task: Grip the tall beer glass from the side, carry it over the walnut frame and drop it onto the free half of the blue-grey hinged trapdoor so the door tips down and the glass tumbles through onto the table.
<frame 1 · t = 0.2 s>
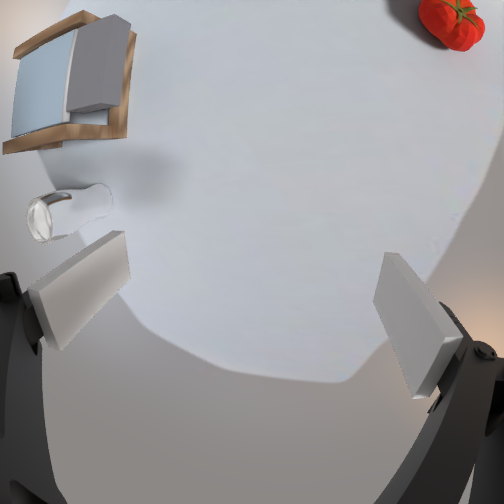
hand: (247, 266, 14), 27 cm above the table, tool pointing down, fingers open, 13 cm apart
tomato: (440, 29, 26), on the table
frame: (87, 92, 38), on the table
trapdoor: (56, 78, 26), point 12 cm above the table, hinge at 0.0°
beer glass: (100, 200, 44), on the table
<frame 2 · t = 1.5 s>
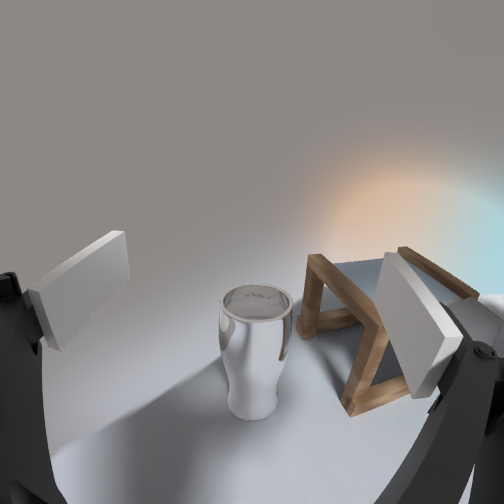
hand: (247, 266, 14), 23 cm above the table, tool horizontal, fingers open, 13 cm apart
frame: (374, 352, 39), on the table
trapdoor: (413, 299, 30), point 12 cm above the table, hinge at 0.0°
beer glass: (252, 402, 31), on the table
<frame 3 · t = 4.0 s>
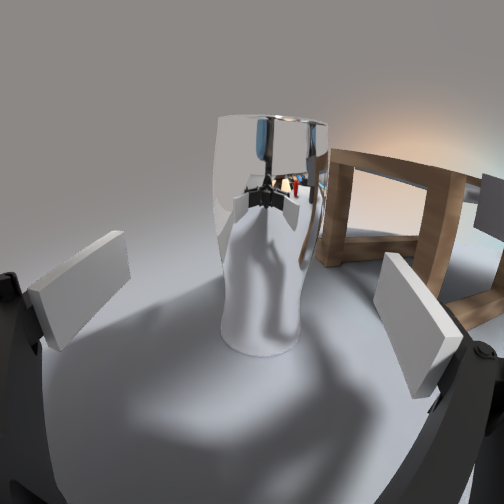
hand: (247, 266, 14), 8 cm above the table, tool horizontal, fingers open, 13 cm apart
frame: (418, 284, 29), on the table
trapdoor: (468, 191, 21), point 12 cm above the table, hinge at 0.0°
beer glass: (260, 333, 21), on the table
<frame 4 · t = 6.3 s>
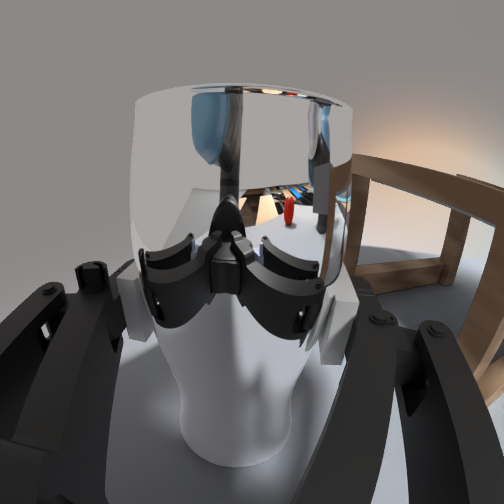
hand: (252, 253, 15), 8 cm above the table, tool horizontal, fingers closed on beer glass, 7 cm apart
frame: (443, 327, 21), on the table
beer glass: (235, 424, 14), on the table, touching gripper
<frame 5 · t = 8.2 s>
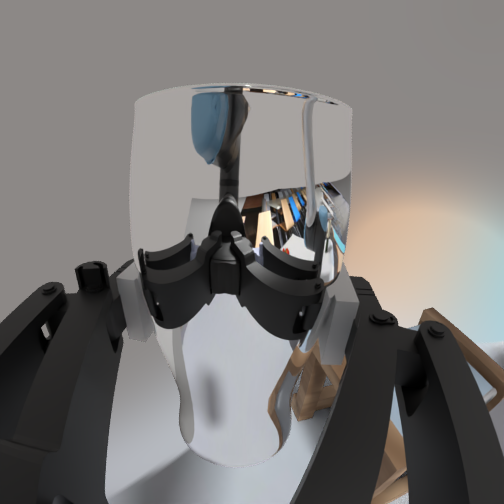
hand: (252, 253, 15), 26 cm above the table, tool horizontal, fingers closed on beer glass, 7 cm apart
frame: (381, 436, 28), on the table
trapdoor: (441, 400, 19), point 12 cm above the table, hinge at 0.0°
beer glass: (235, 424, 14), point 18 cm above the table, touching gripper
when the fingers open (23 cm above the table, at t = 10.1 s): beer glass drops 9 cm, resting on frame.
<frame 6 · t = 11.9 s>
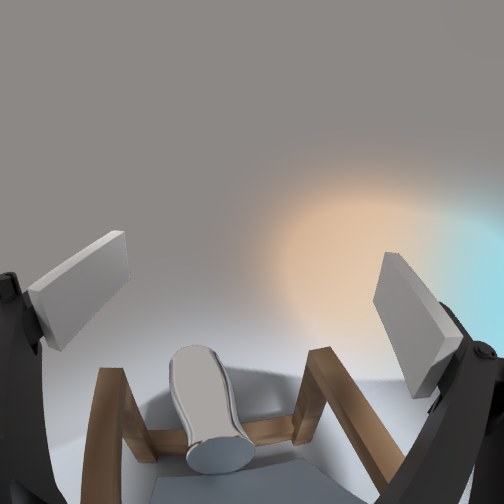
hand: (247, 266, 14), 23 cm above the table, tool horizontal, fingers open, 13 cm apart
beer glass: (222, 459, 19), point 6 cm above the table, touching frame
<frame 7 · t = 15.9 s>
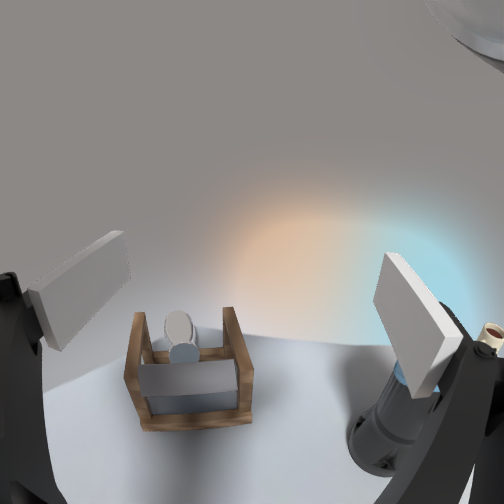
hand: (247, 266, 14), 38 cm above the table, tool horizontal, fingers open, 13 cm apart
frame: (192, 390, 49), on the table
trapdoor: (188, 374, 41), point 10 cm above the table, hinge at -43.2°
character mug: (472, 373, 49), on the table
beer glass: (184, 356, 50), point 6 cm above the table, touching frame
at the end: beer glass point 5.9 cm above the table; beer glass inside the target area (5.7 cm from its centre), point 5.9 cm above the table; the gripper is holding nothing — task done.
